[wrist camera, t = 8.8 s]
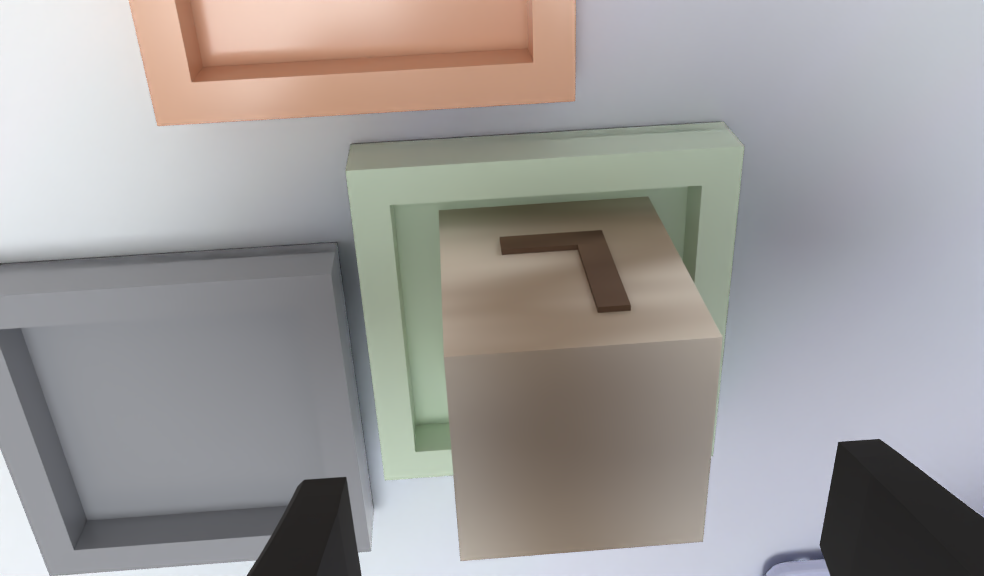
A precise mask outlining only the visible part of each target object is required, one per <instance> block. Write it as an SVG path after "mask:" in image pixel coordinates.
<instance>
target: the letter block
mask: <svg viewBox="0 0 984 576" xmlns="http://www.w3.org/2000/svg"><path fill="white" fill-rule="evenodd" d="M439 235H440V264H441V293H442V322H443V350H444V367H445V379H446V391H447V403H448V415H449V427H450V440H451V452H452V464H453V476H454V488H455V500H456V513H457V525H458V537H459V549H460V561H467V560H480V559H492V558H505V557H518V556H530V555H543V554H555V553H568V552H580V551H593V550H605V549H618V548H631V547H643V546H656V545H668V544H681V543H693V542H703V535H704V525H705V514H706V504H707V494H708V483H709V473H710V463H711V453H712V442H713V432H714V422H715V411H716V401H717V391H718V380H719V370H720V360H721V349H722V339H723V337H722V335H721V333H720V331H719V329H718V327H717V325H716V324H715V322H714V320H713V318H712V316H711V314H710V312H709V310H708V308H707V307H706V305H705V303H704V301H703V299H702V297H701V295H700V293H699V291H698V290H697V288H696V286H695V284H694V282H693V280H692V278H691V276H690V274H689V273H688V271H687V269H686V267H685V265H684V263H683V261H682V259H681V257H680V256H679V254H678V252H677V250H676V248H675V246H674V244H673V242H672V240H671V238H670V237H669V235H668V233H667V231H666V229H665V227H664V225H663V223H662V221H661V220H660V218H659V216H658V214H657V212H656V210H655V208H654V206H653V204H652V203H651V201H650V199H649V197H648V196H647V197H632V198H617V199H602V200H587V201H571V202H556V203H541V204H526V205H511V206H496V207H480V208H465V209H450V210H439Z"/></svg>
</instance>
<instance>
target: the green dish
mask: <svg viewBox="0 0 984 576" xmlns="http://www.w3.org/2000/svg"><path fill="white" fill-rule="evenodd" d="M743 155H744V145H743V144H742V143H741V142H740V141H739V139H738V138H737V137H736V136H735V135H734V134H733V132H732V131H731V130H730V129H729V128H728V127H727V125H726V124H725V123H724V122H710V123H694V124H678V125H661V126H645V127H628V128H612V129H595V130H579V131H562V132H546V133H529V134H513V135H496V136H480V137H463V138H447V139H430V140H414V141H397V142H381V143H364V144H351V145H350V150H349V155H348V160H347V165H346V170H345V172H346V180H347V188H348V196H349V203H350V211H351V219H352V227H353V235H354V243H355V251H356V258H357V266H358V274H359V282H360V290H361V298H362V305H363V313H364V321H365V329H366V337H367V345H368V353H369V360H370V368H371V376H372V384H373V392H374V400H375V408H376V415H377V423H378V431H379V439H380V447H381V455H382V463H383V470H384V478H385V480H398V479H412V478H425V477H438V476H452V475H453V464H452V452H451V440H450V427H449V415H448V403H447V391H446V379H445V367H444V350H443V322H442V293H441V264H440V235H439V210H450V209H465V208H480V207H496V206H511V205H526V204H541V203H556V202H571V201H587V200H602V199H617V198H632V197H647V196H648V197H649V199H650V201H651V203H652V204H653V206H654V208H655V210H656V212H657V214H658V216H659V218H660V220H661V221H662V223H663V225H664V227H665V229H666V231H667V233H668V235H669V237H670V238H671V240H672V242H673V244H674V246H675V248H676V250H677V252H678V254H679V256H680V257H681V259H682V261H683V263H684V265H685V267H686V269H687V271H688V273H689V274H690V276H691V278H692V280H693V282H694V284H695V286H696V288H697V290H698V291H699V293H700V295H701V297H702V299H703V301H704V303H705V305H706V307H707V308H708V310H709V312H710V314H711V316H712V318H713V320H714V322H715V324H716V325H717V327H718V329H719V331H720V333H721V335H722V337H723V339H722V349H721V360H720V370H719V380H718V391H717V401H716V411H715V422H714V432H713V442H712V453H711V456H713V451H714V441H715V431H716V421H717V411H718V402H719V392H720V382H721V372H722V362H723V352H724V342H725V333H726V323H727V313H728V303H729V293H730V283H731V273H732V264H733V254H734V244H735V234H736V224H737V214H738V204H739V195H740V185H741V175H742V165H743Z"/></svg>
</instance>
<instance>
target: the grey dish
mask: <svg viewBox="0 0 984 576" xmlns="http://www.w3.org/2000/svg"><path fill="white" fill-rule="evenodd" d="M0 449H1V451H2V454H3V457H4V459H5V462H6V464H7V467H8V469H9V472H10V475H11V477H12V480H13V482H14V485H15V487H16V490H17V493H18V495H19V498H20V500H21V503H22V505H23V508H24V511H25V513H26V516H27V518H28V521H29V523H30V526H31V529H32V531H33V534H34V536H35V539H36V541H37V544H38V547H39V549H40V552H41V554H42V557H43V559H44V562H45V565H46V567H47V570H48V572H49V575H50V576H58V575H71V574H84V573H97V572H110V571H123V570H136V569H149V568H162V567H175V566H188V565H201V564H214V563H227V562H240V561H252V560H257V559H258V557H259V556H260V554H261V552H262V551H263V549H264V547H265V546H266V544H267V542H268V540H269V539H270V537H271V535H272V534H273V532H274V530H275V528H276V526H277V525H278V523H279V521H280V519H281V517H282V516H283V514H284V512H285V510H286V508H287V506H288V504H289V502H290V500H291V498H292V496H293V494H294V492H295V490H296V488H297V486H298V485H299V484H300V483H301V482H302V481H303V480H307V479H321V478H335V477H346V478H347V484H348V491H349V497H350V504H351V511H352V517H353V524H354V530H355V537H356V543H357V550H358V552H369V551H371V543H372V529H373V514H374V509H373V501H372V494H371V487H370V480H369V472H368V465H367V458H366V451H365V443H364V436H363V429H362V422H361V414H360V407H359V400H358V393H357V385H356V378H355V371H354V364H353V356H352V349H351V342H350V335H349V327H348V320H347V313H346V306H345V298H344V291H343V284H342V277H341V269H340V262H339V255H338V248H337V242H336V243H321V244H305V245H290V246H274V247H259V248H243V249H228V250H212V251H197V252H181V253H166V254H150V255H135V256H119V257H104V258H89V259H73V260H58V261H42V262H27V263H11V264H0Z"/></svg>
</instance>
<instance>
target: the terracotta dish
mask: <svg viewBox="0 0 984 576" xmlns="http://www.w3.org/2000/svg"><path fill="white" fill-rule="evenodd" d="M129 4H130V8H131V13H132V17H133V21H134V26H135V30H136V34H137V39H138V43H139V47H140V52H141V56H142V61H143V65H144V69H145V74H146V78H147V82H148V87H149V91H150V95H151V100H152V104H153V108H154V113H155V117H156V121H157V126H167V125H184V124H201V123H218V122H234V121H251V120H268V119H285V118H302V117H319V116H335V115H352V114H369V113H386V112H403V111H419V110H436V109H453V108H470V107H487V106H503V105H520V104H537V103H554V102H571V101H575V53H576V0H129Z"/></svg>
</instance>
